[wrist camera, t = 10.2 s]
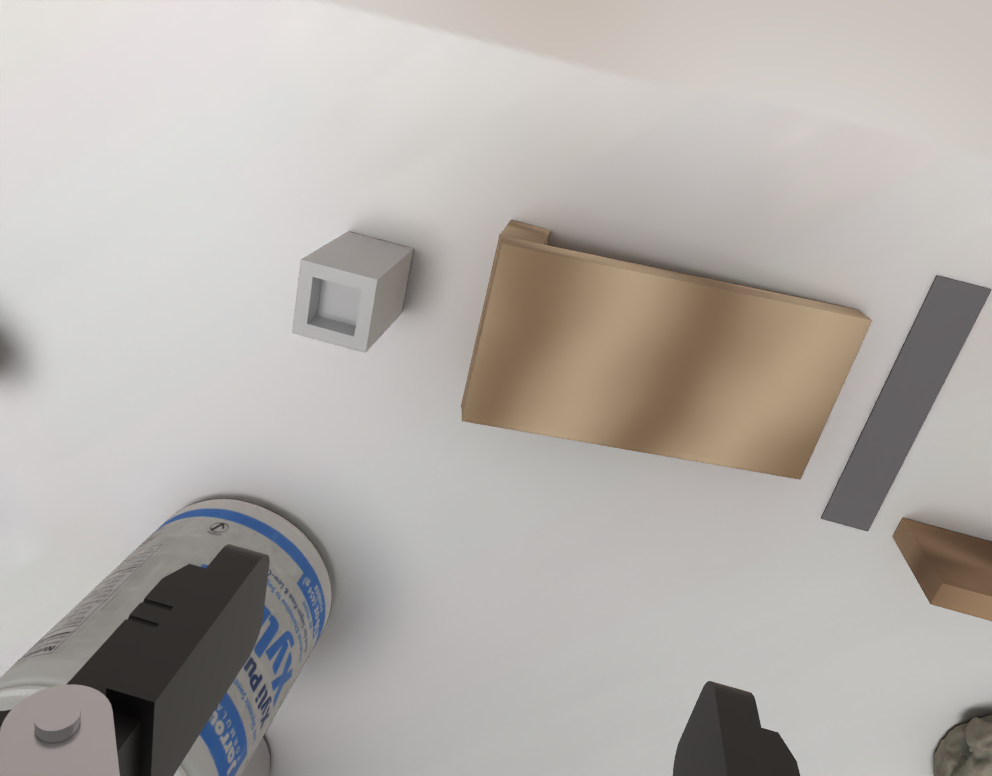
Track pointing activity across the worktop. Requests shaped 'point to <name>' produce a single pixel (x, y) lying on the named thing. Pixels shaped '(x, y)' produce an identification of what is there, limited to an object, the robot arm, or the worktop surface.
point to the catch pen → (949, 567)
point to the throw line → (905, 400)
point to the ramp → (655, 358)
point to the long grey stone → (966, 750)
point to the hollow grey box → (351, 290)
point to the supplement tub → (197, 540)
